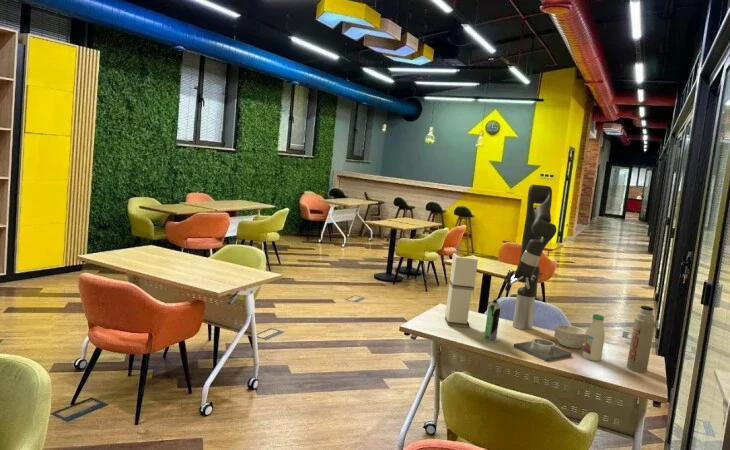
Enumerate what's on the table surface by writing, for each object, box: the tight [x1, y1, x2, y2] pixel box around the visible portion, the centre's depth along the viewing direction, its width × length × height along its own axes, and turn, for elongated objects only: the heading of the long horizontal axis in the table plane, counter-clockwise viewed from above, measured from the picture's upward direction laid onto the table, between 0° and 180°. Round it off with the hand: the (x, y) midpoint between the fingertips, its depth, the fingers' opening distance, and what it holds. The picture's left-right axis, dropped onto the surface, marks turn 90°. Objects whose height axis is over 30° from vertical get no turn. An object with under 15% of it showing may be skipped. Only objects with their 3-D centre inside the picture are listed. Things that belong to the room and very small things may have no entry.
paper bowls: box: [554, 324, 587, 349], centre depth 265 cm, size 15×15×8 cm
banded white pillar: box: [444, 252, 479, 329], centre depth 280 cm, size 11×11×35 cm
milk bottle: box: [582, 313, 606, 362], centre depth 248 cm, size 8×8×20 cm
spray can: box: [483, 298, 502, 344], centre depth 258 cm, size 6×6×20 cm
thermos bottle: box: [626, 305, 656, 374], centre depth 239 cm, size 8×8×28 cm
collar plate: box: [513, 337, 573, 362], centre depth 251 cm, size 18×18×4 cm
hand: (514, 293), depth 254 cm, fingers open, 8 cm apart
